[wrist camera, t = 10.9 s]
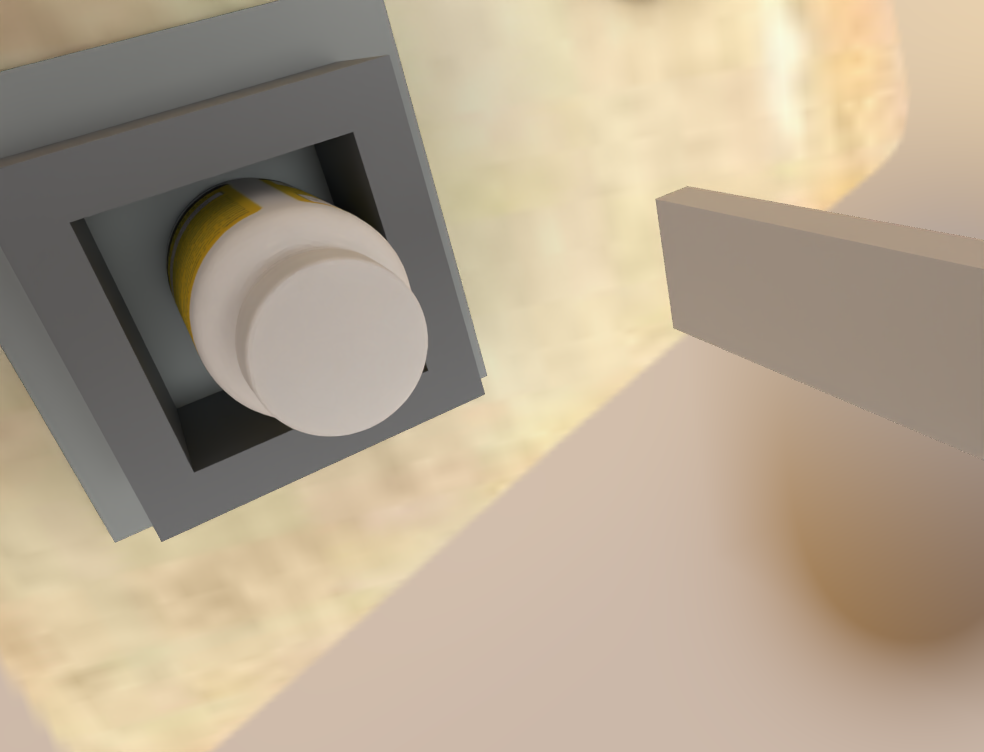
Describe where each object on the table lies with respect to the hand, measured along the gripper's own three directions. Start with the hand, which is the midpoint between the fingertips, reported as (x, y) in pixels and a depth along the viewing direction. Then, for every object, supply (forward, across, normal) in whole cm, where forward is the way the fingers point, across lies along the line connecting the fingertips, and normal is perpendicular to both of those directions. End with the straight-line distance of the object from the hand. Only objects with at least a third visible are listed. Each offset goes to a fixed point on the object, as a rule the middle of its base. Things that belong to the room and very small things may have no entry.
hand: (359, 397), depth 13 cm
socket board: (+15, 0, -1) cm, 15 cm away
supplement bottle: (+13, 0, -1) cm, 13 cm away
